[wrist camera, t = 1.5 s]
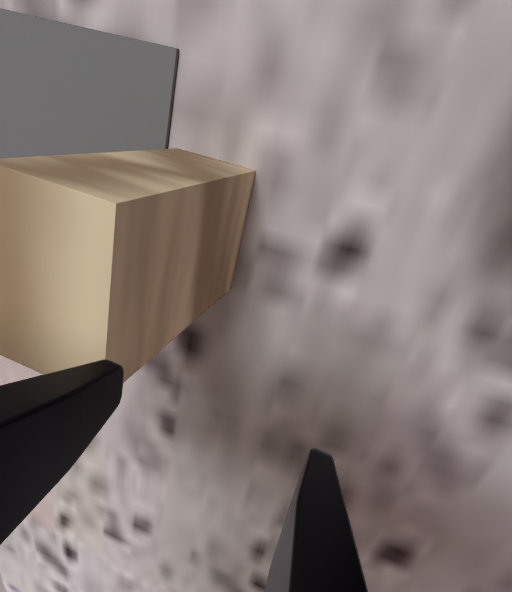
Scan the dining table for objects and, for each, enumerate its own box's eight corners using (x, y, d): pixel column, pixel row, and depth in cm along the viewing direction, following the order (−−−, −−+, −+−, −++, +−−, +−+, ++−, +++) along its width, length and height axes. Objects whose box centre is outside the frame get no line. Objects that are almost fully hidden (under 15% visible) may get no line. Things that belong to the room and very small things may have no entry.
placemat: (179, 49, 17) (176, 48, 17) (146, 325, 23) (144, 326, 23) (-36, 0, 20) (-40, -1, 20) (-16, 261, 26) (-19, 261, 26)
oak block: (255, 170, 18) (116, 203, 9) (230, 288, 21) (102, 400, 12) (177, 148, 19) (-18, 159, 10) (162, 264, 22) (-4, 353, 13)
